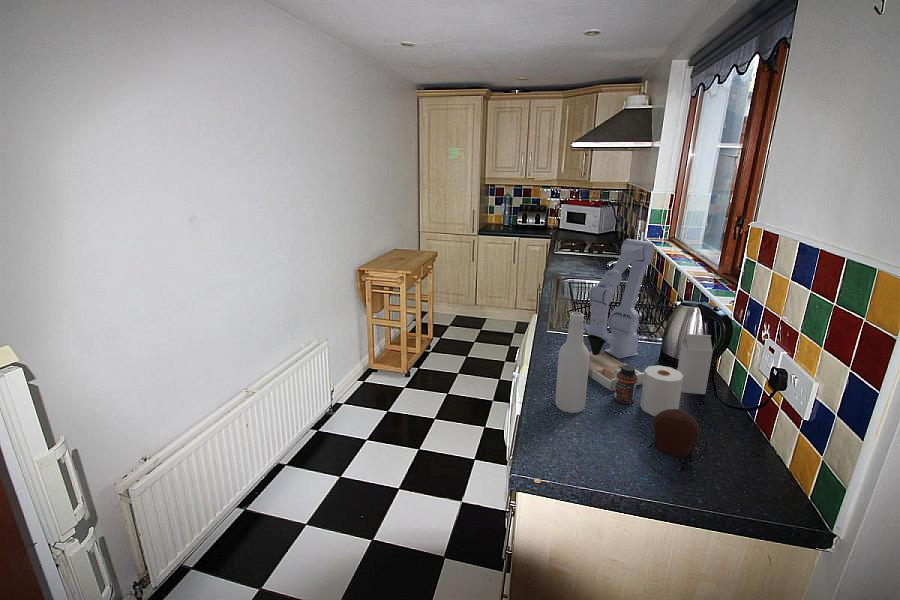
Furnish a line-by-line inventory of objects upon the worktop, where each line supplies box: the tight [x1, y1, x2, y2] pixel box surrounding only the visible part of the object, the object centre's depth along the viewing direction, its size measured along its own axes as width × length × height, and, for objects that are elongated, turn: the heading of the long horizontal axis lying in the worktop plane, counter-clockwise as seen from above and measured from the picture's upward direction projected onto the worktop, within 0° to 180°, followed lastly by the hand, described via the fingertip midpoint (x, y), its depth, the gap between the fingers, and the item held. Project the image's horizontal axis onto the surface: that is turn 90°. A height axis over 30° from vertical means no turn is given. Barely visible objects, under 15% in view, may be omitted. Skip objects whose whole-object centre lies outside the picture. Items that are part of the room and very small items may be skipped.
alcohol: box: [554, 311, 590, 414], centre depth 133 cm, size 9×9×30 cm
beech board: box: [588, 350, 625, 379], centre depth 163 cm, size 14×14×2 cm
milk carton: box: [676, 333, 713, 395], centre depth 144 cm, size 7×7×19 cm
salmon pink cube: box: [604, 366, 619, 380], centre depth 154 cm, size 4×4×3 cm
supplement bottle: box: [613, 364, 637, 405], centre depth 139 cm, size 6×6×11 cm
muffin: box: [651, 408, 702, 458], centre depth 116 cm, size 12×11×10 cm
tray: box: [591, 363, 644, 392], centre depth 152 cm, size 14×10×4 cm
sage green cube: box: [613, 368, 621, 379], centre depth 151 cm, size 4×4×3 cm
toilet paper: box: [639, 364, 683, 417], centre depth 134 cm, size 10×10×12 cm
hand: (595, 354), depth 163 cm, fingers closed
